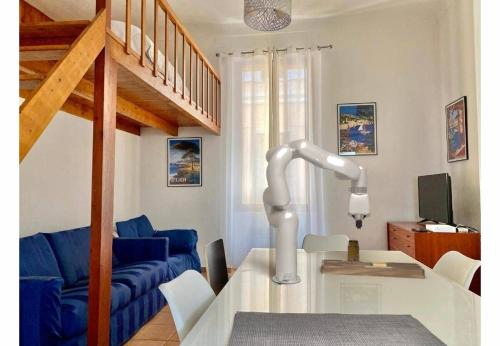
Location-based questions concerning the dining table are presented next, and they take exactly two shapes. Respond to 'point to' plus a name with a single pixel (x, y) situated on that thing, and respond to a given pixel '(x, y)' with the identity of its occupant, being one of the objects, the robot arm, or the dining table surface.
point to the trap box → (373, 269)
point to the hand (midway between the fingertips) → (358, 228)
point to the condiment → (353, 250)
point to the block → (379, 264)
